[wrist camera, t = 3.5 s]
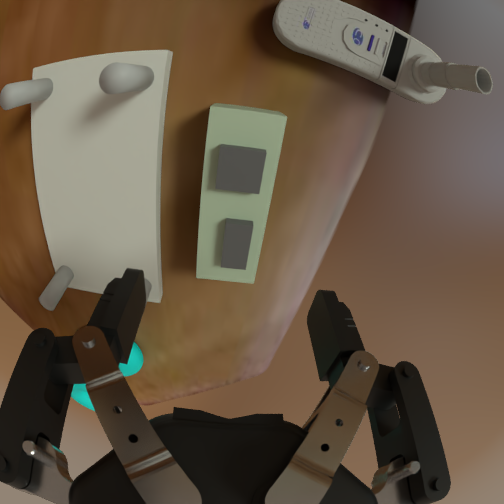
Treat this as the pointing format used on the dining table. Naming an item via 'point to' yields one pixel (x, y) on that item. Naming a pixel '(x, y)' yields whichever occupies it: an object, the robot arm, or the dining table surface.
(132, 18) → the dining table surface
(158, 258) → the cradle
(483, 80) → the electronic device
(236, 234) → the pale green block
